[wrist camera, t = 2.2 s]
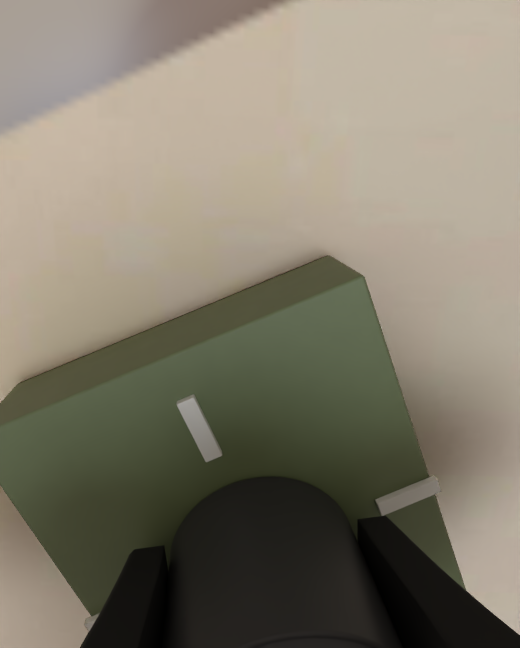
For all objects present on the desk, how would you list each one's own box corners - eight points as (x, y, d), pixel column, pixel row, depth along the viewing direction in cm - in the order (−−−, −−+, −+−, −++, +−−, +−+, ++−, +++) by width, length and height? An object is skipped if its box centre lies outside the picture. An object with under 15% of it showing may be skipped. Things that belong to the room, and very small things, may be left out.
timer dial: (295, 440, 10) (354, 605, 6) (382, 566, 11) (476, 768, 7) (131, 539, 10) (88, 758, 6) (234, 653, 11) (251, 890, 7)
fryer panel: (438, 559, 14) (488, 640, 12) (186, 662, 14) (183, 766, 12) (333, 252, 11) (372, 274, 9) (12, 385, 11) (-43, 446, 9)
